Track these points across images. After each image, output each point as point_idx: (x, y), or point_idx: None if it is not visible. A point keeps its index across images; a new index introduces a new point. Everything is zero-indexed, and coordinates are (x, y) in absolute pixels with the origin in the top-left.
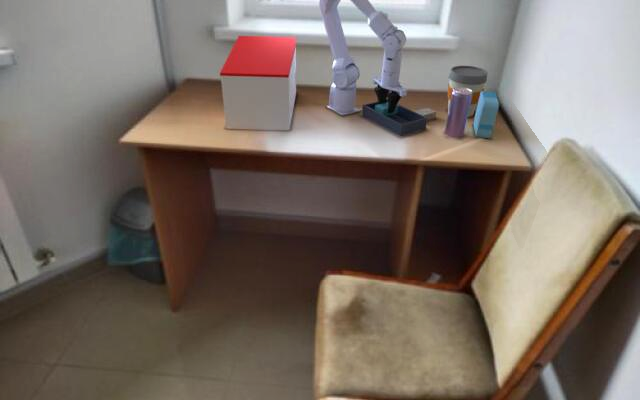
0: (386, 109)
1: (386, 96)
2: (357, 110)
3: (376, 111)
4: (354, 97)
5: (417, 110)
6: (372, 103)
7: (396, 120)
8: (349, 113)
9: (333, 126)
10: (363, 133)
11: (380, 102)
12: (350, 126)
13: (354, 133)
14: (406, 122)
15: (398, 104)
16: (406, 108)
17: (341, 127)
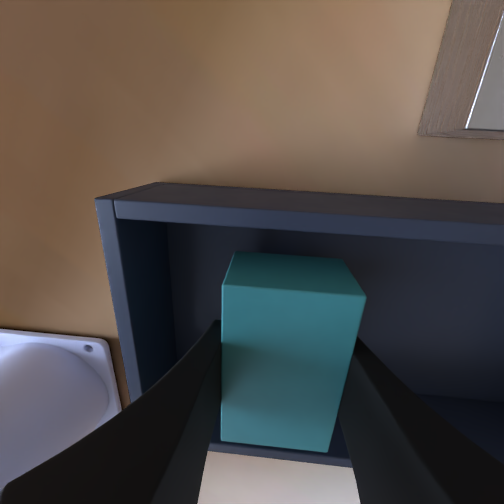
0: (333, 420)
1: (200, 403)
2: (99, 355)
3: (290, 456)
4: (22, 467)
5: (497, 49)
6: (140, 380)
7: (358, 279)
8: (117, 401)
9: (201, 494)
10: (331, 469)
11: (216, 411)
12: (239, 461)
13: (305, 487)
14: (438, 249)
15: (298, 221)
16: (446, 235)
17: (227, 484)
